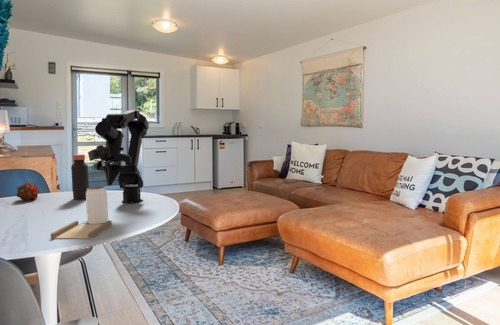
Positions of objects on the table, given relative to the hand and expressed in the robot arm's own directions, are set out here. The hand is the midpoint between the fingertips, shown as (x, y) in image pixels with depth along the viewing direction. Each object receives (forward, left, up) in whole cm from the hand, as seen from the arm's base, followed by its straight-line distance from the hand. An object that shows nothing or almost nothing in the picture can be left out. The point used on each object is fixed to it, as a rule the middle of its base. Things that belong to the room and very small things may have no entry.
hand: (109, 185), depth 131 cm
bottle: (-12, -39, -11) cm, 42 cm away
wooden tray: (+18, +12, -11) cm, 24 cm away
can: (+9, +6, -11) cm, 16 cm away
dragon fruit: (+2, -58, -11) cm, 59 cm away
